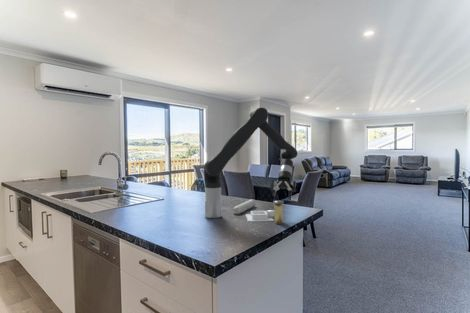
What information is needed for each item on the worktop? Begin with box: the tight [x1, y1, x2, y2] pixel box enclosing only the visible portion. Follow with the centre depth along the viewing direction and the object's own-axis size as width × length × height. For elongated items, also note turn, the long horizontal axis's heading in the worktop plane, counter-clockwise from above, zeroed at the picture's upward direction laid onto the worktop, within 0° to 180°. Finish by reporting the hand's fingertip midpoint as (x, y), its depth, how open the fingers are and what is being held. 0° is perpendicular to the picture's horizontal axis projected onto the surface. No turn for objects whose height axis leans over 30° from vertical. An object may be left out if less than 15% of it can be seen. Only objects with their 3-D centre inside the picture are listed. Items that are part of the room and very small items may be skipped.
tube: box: [232, 198, 257, 215], centre depth 168 cm, size 5×5×25 cm
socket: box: [245, 209, 274, 223], centre depth 149 cm, size 18×14×4 cm
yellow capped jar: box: [272, 200, 285, 225], centre depth 139 cm, size 6×6×11 cm
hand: (281, 196), depth 146 cm, fingers open, 8 cm apart
